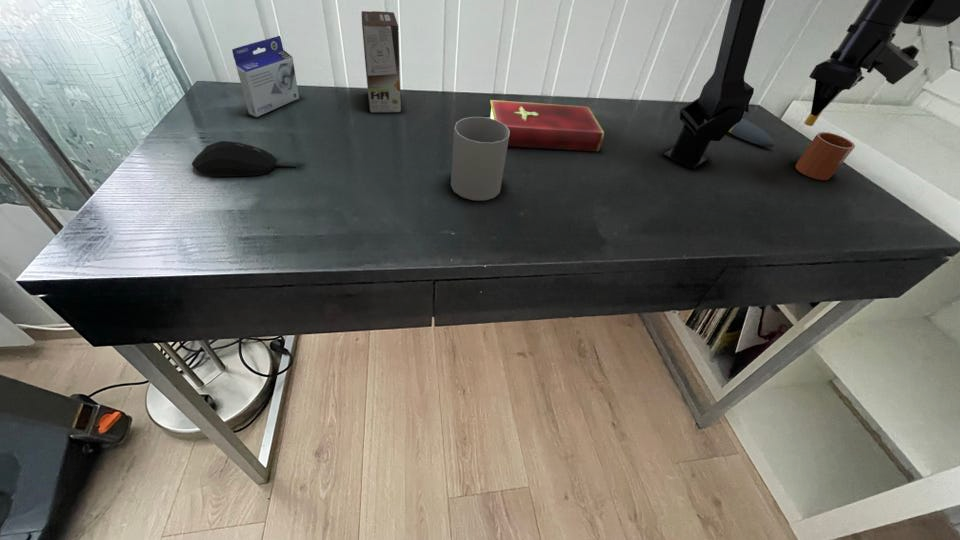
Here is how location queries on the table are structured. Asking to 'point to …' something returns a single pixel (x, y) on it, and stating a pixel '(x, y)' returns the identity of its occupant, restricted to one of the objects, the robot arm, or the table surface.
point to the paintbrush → (751, 133)
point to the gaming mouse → (234, 160)
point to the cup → (479, 157)
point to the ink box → (266, 76)
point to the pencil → (812, 119)
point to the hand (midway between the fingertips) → (815, 113)
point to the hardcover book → (548, 125)
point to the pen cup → (824, 155)
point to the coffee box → (382, 60)
